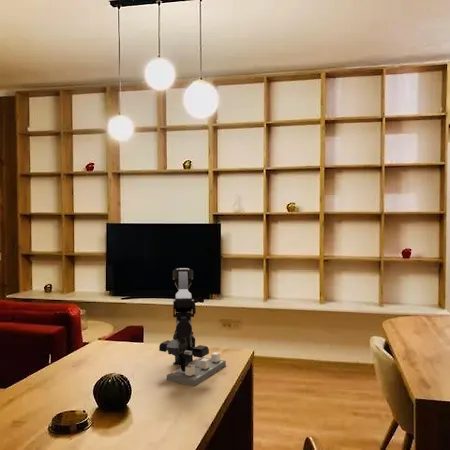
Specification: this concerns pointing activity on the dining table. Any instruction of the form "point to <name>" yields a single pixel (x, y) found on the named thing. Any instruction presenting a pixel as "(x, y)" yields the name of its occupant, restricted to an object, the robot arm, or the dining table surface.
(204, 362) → the middle switch
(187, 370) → the switch
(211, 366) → the breaker panel
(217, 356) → the far switch
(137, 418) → the dining table surface
